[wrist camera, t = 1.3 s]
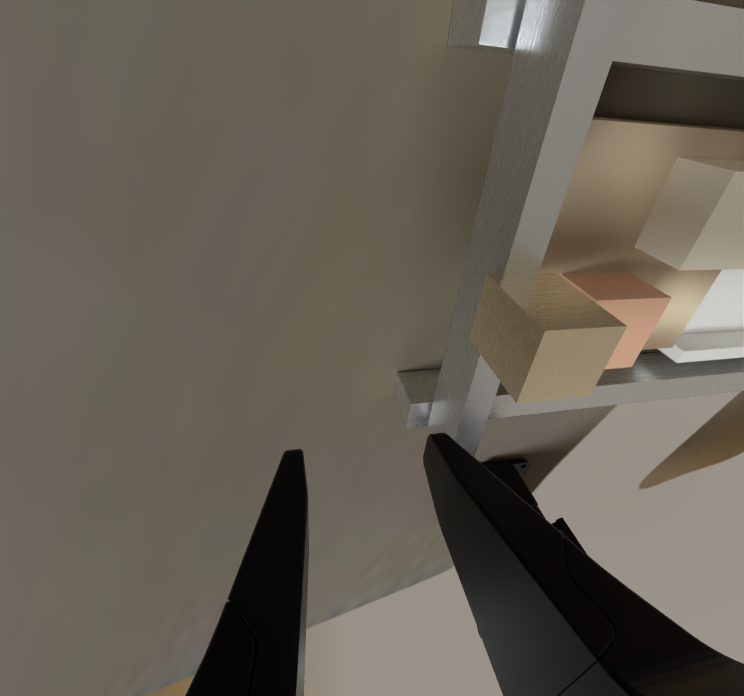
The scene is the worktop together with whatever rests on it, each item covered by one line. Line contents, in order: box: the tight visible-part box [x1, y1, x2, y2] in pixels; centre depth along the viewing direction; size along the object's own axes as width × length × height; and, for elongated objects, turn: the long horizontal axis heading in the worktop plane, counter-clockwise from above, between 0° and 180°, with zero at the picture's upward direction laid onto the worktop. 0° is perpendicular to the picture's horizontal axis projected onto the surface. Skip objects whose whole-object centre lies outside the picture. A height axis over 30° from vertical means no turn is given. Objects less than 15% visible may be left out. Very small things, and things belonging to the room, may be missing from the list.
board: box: [539, 116, 744, 350], centre depth 23 cm, size 13×15×2 cm
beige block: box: [634, 157, 744, 270], centre depth 20 cm, size 4×4×3 cm
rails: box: [394, 0, 744, 428], centre depth 23 cm, size 21×31×3 cm
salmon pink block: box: [560, 272, 672, 369], centre depth 22 cm, size 4×4×3 cm
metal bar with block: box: [428, 0, 634, 457], centre depth 16 cm, size 20×3×7 cm, turn 175°
